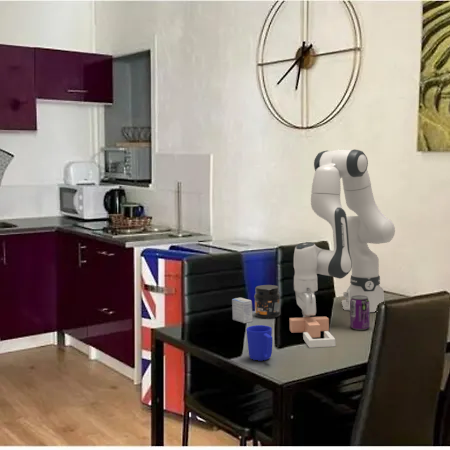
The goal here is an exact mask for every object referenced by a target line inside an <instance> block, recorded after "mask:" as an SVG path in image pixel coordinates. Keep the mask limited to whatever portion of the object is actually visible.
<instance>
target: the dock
mask: <svg viewBox="0 0 450 450" xmlns="http://www.w3.org/2000/svg"><path fill="white" fill-rule="evenodd" d="M329 331H330V330H329ZM329 331H323V338H312V337H311V336H310V335H309V334H308V332H302V337H303V340H304V342H305V344H306V345H307V347H308V348H310V349H312V348H313V349H314V348H328V347H329V348H330V347H336V338H335V337H334V335H332V334H331V333H330V332H329Z"/></svg>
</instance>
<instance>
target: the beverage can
mask: <svg viewBox="0 0 450 450" xmlns="http://www.w3.org/2000/svg"><path fill="white" fill-rule="evenodd" d="M349 312H350V313H349V325H350V326H349V327H350V328H351V329H353V330H356V331H365V330H367V329H369V328H370V322H371V321H370V316H371V315H370V313H371V312H370V309H369V300H368V297H367V296H363V295H355V296H352V297H351V301H350V310H349Z"/></svg>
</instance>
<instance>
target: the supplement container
mask: <svg viewBox="0 0 450 450" xmlns="http://www.w3.org/2000/svg"><path fill="white" fill-rule="evenodd" d="M254 291H255V293H254V296H253V298H254V315H255V317H256V318H259V317H260V318H259V319H266V318H269V319H275V317H276V318H278V317H280V315H281V294H280V293H279V292H280V287H279V286H278V285H274V284H273V285H272V284H263V285H257V286H256V287H255V290H254Z"/></svg>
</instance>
